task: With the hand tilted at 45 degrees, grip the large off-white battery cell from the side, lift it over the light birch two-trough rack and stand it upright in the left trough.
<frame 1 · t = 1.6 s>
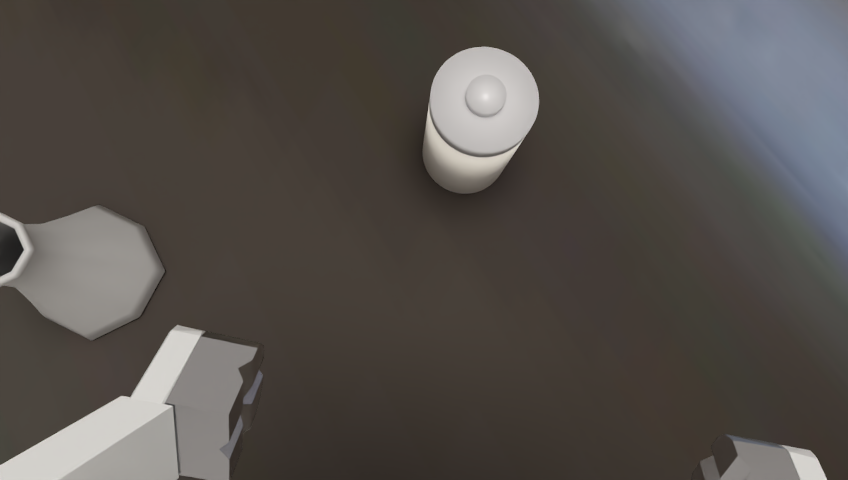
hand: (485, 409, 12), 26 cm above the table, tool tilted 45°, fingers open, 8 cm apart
battery cell: (464, 152, 39), on the table
flask: (99, 272, 37), on the table
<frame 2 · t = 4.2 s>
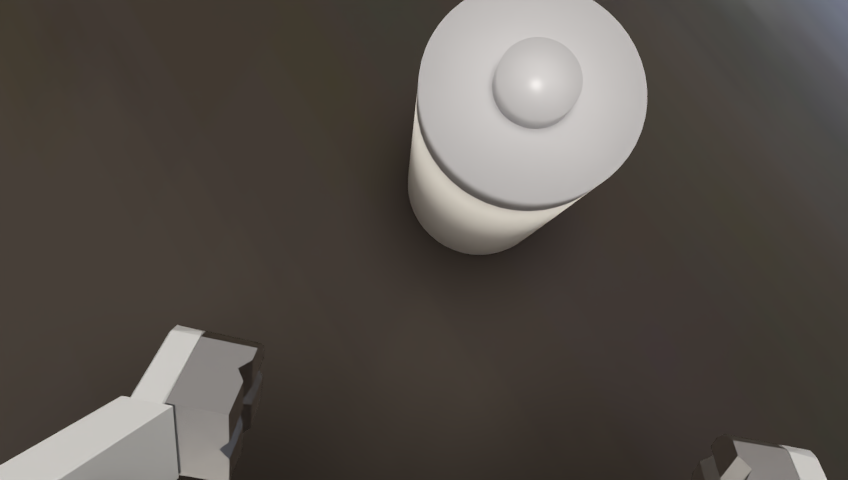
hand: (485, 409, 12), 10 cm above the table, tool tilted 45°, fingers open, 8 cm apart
battery cell: (478, 184, 23), on the table
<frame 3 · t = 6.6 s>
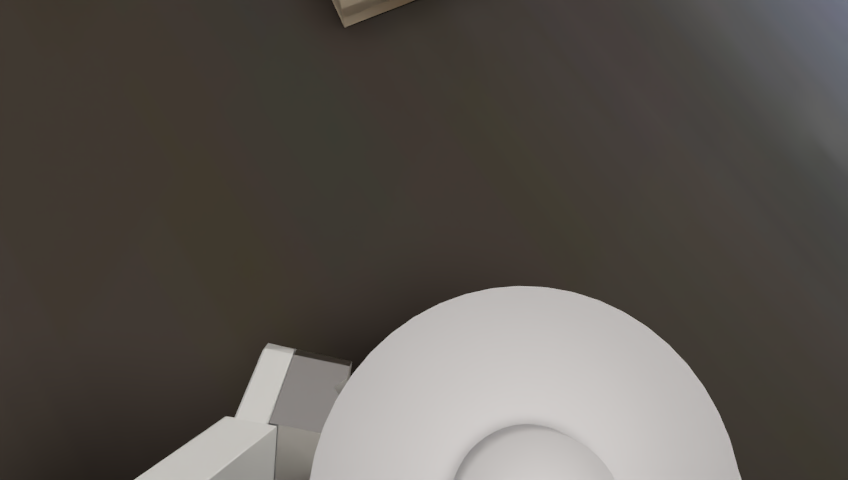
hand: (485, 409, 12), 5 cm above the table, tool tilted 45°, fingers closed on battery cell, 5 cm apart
battery cell: (452, 413, 16), on the table, touching gripper
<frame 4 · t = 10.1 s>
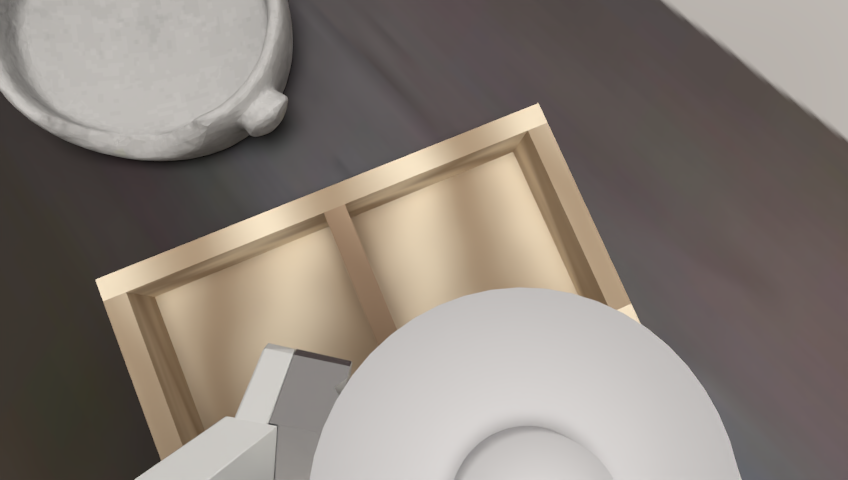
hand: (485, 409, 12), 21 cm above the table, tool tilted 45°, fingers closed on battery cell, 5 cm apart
trough rack: (374, 307, 33), on the table
battery cell: (452, 414, 16), point 16 cm above the table, touching gripper
dish: (164, 47, 34), on the table
when the fingers open (7 cm above the table, at t = 13.7 s): battery cell drops 1 cm, resting on trough rack.
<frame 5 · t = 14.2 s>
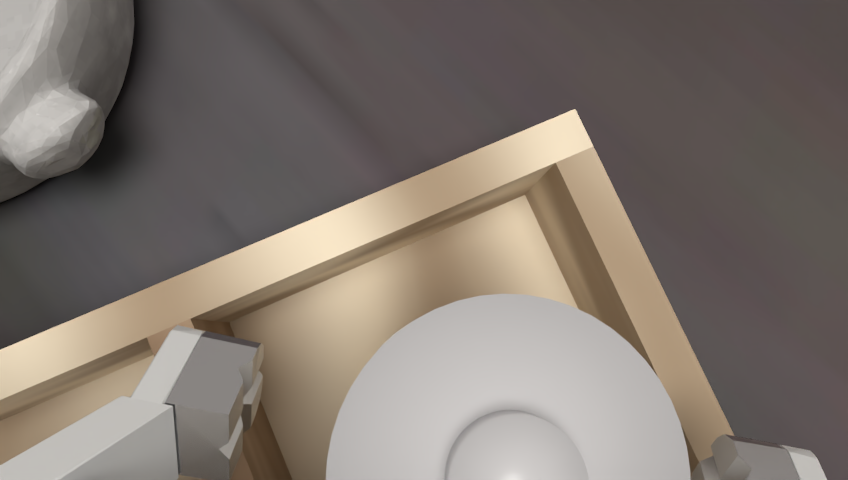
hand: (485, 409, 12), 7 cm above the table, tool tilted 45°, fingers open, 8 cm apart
trough rack: (280, 478, 18), on the table
battery cell: (449, 407, 18), point 1 cm above the table, touching trough rack
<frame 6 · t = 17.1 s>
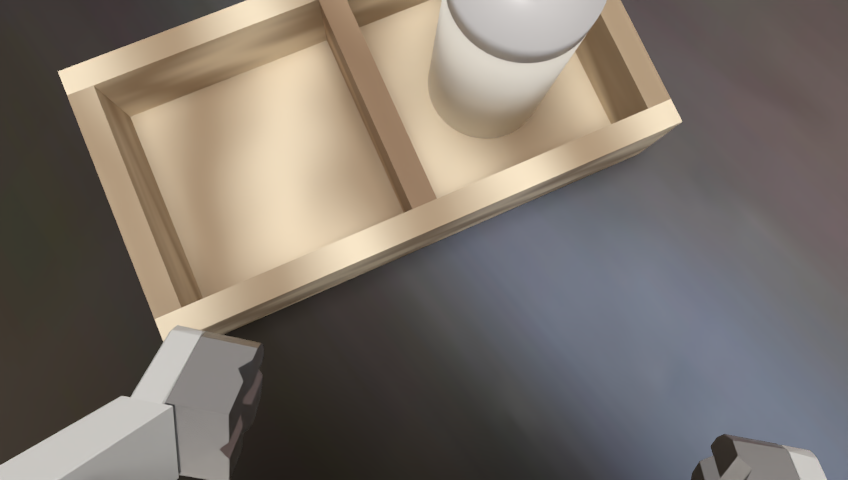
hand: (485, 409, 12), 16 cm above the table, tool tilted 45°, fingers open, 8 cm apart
trough rack: (378, 133, 29), on the table
battery cell: (484, 83, 29), point 1 cm above the table, touching trough rack
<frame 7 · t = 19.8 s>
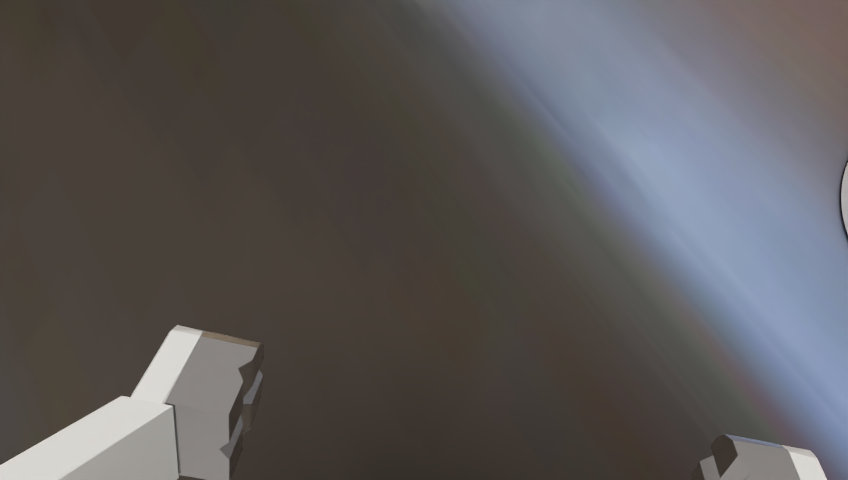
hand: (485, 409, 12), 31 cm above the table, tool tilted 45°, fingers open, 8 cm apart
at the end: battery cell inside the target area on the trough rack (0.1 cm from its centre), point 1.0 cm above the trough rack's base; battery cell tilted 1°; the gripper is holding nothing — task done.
